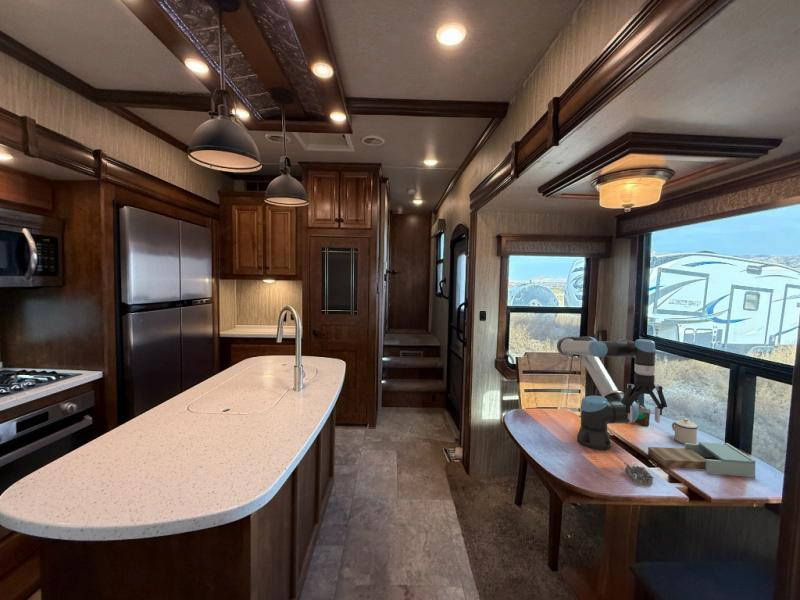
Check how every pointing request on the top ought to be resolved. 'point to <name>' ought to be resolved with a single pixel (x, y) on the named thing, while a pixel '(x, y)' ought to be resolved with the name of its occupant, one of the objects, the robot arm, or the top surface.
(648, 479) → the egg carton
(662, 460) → the panel
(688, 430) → the teacup with lid
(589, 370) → the robot arm
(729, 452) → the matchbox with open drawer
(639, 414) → the food container
